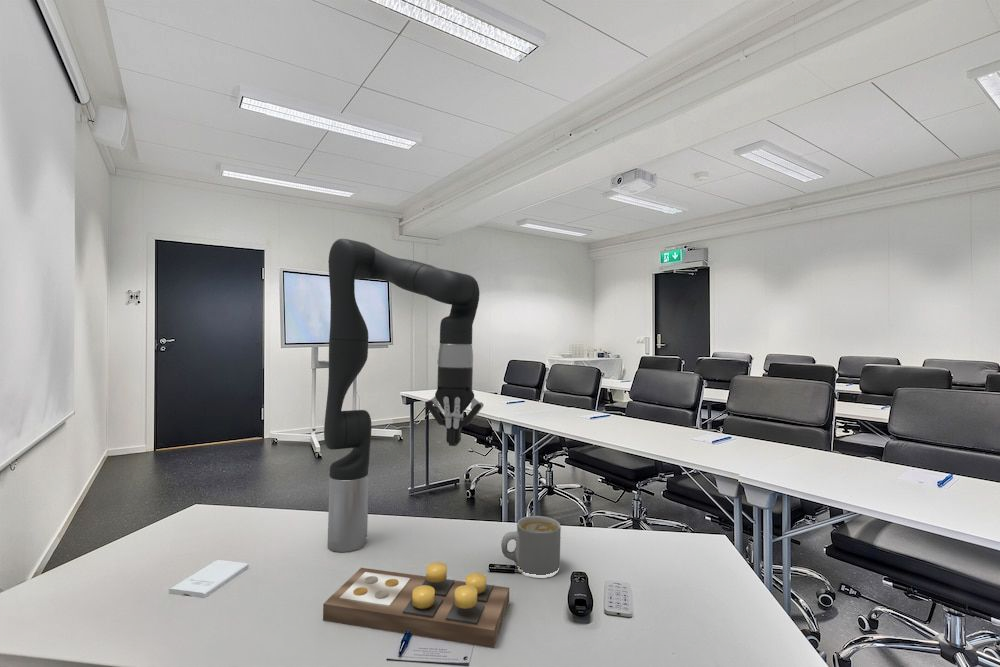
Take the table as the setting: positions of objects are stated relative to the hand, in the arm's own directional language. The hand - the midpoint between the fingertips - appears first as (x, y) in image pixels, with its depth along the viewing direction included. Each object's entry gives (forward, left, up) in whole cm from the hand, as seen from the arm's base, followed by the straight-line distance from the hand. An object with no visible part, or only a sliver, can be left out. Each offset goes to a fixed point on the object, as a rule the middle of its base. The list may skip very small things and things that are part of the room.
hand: (453, 445), depth 102 cm
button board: (+12, -2, -29) cm, 32 cm away
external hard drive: (+13, -49, -30) cm, 58 cm away
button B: (+16, 0, -25) cm, 30 cm away
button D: (+16, +8, -24) cm, 30 cm away
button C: (+9, +8, -25) cm, 28 cm away
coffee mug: (-10, +16, -29) cm, 35 cm away
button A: (+9, 0, -24) cm, 26 cm away
